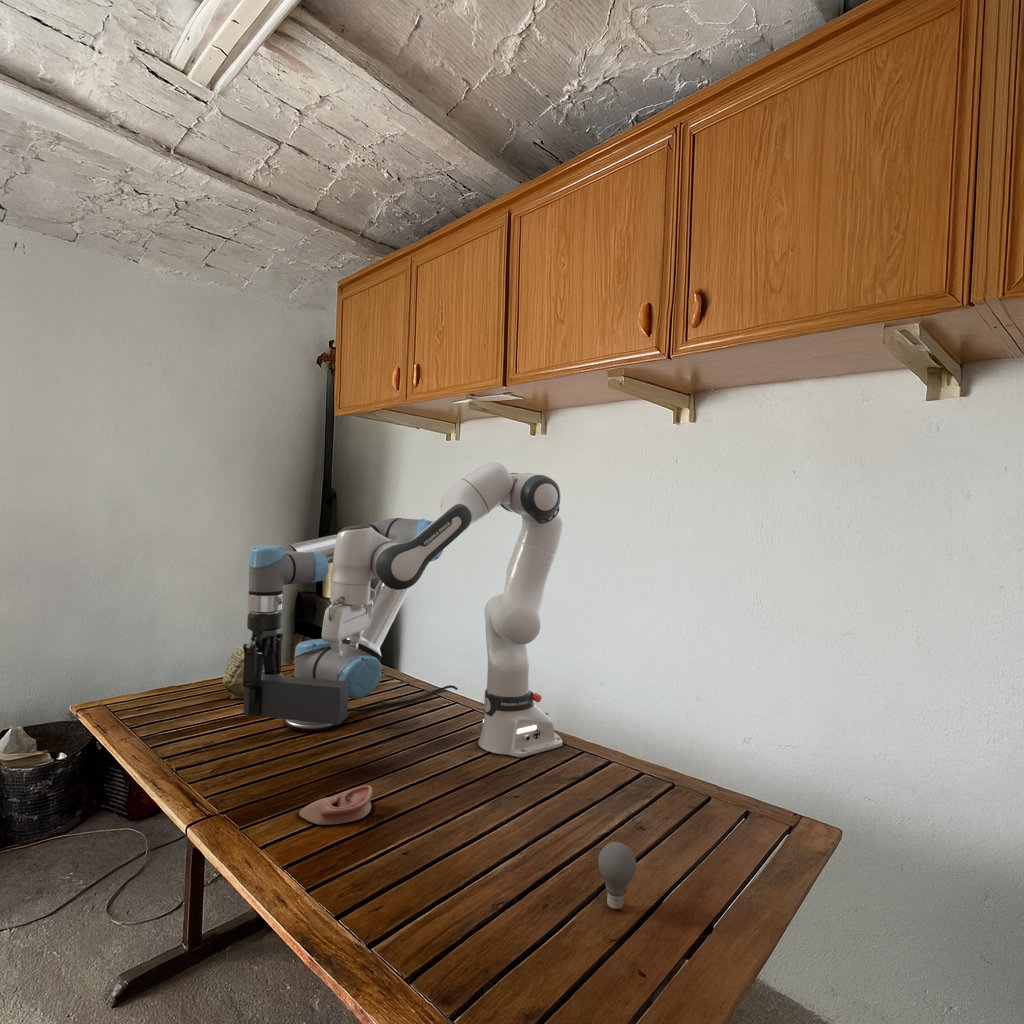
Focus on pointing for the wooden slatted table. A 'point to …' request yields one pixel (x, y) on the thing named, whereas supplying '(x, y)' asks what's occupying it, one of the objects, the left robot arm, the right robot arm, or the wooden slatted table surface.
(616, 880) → the light bulb
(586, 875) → the wooden slatted table surface
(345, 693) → the bar
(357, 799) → the anatomical model
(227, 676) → the fossil
